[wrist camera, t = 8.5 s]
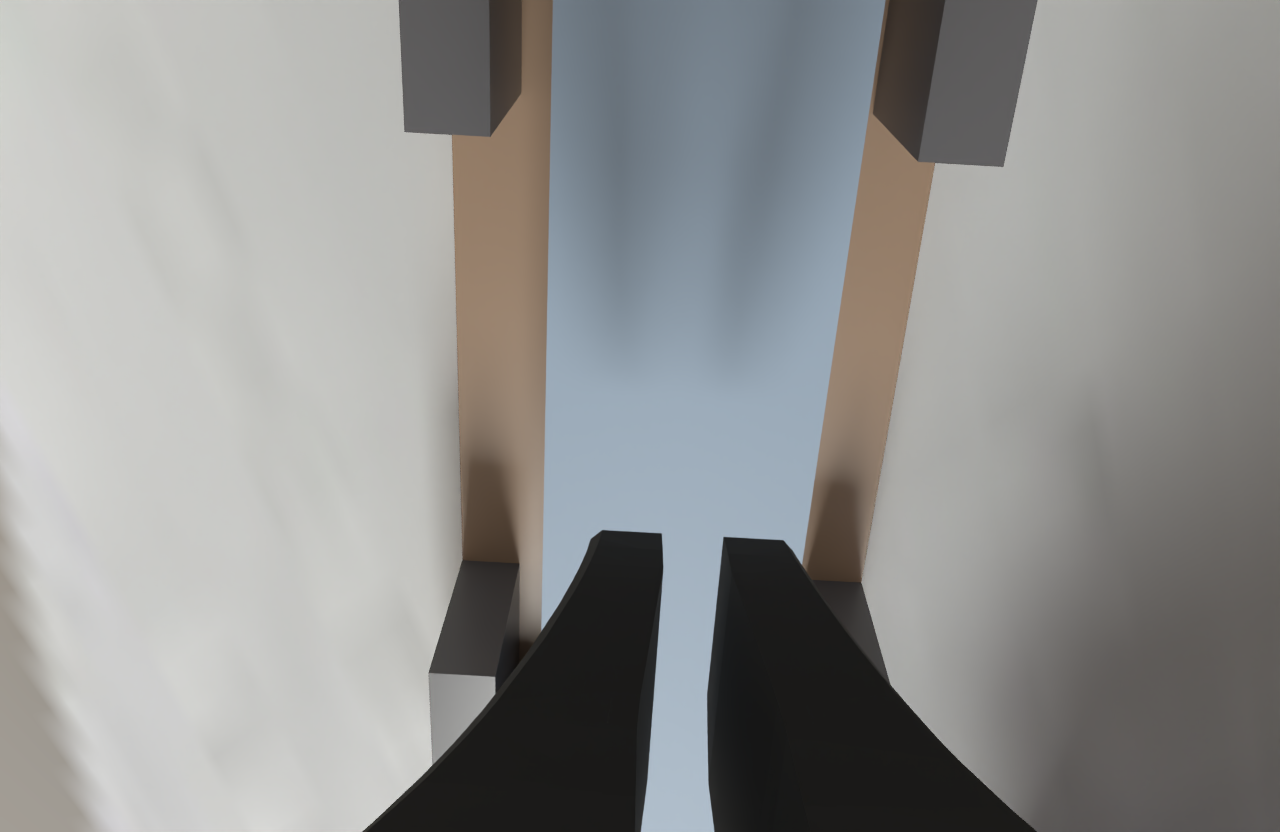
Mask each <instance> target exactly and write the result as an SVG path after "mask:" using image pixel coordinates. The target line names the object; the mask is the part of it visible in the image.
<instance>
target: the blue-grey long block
mask: <svg viewBox="0 0 1280 832" xmlns="http://www.w3.org/2000/svg"><path fill="white" fill-rule="evenodd" d="M885 1H886V0H553V22H552V77H551V131H550V186H549V240H548V295H547V349H546V404H545V458H544V513H543V567H542V622H541V631H542V630H543V628H544V626H545V625H546V623H547V622H548V620H549V619H550V617H551V616H552V614H553V613H554V611H555V610H556V608H557V607H558V605H559V603H560V602H561V600H562V598H563V596H564V595H565V593H566V591H567V589H568V588H569V586H570V584H571V582H572V581H573V579H574V577H575V575H576V573H577V571H578V569H579V567H580V565H581V563H582V561H583V558H584V556H585V554H586V551H587V549H588V546H589V542H590V539H591V538H592V537H594V536H595V535H596V534H598V533H599V532H600V531H602V530H612V531H630V532H648V533H662V545H663V581H662V595H661V608H660V621H659V634H658V647H657V661H656V674H655V687H654V700H653V713H652V727H651V740H650V753H649V766H648V780H647V788H646V796H645V803H644V811H643V819H642V827H641V832H714V824H713V817H712V809H711V801H710V793H709V785H708V735H707V690H708V680H709V671H710V661H711V651H712V642H713V632H714V623H715V613H716V603H717V594H718V584H719V575H720V565H721V555H722V546H723V537H737V538H754V539H772V540H784V541H785V542H786V544H787V545H788V546H789V547H790V548H791V549H792V550H793V552H794V553H795V555H796V557H797V558H798V560H799V561H800V563H801V564H802V562H803V555H804V548H805V541H806V534H807V528H808V521H809V514H810V507H811V501H812V494H813V487H814V480H815V474H816V467H817V460H818V453H819V447H820V440H821V433H822V426H823V420H824V413H825V406H826V399H827V393H828V386H829V379H830V372H831V366H832V359H833V352H834V345H835V339H836V332H837V325H838V318H839V312H840V305H841V298H842V291H843V285H844V278H845V271H846V264H847V258H848V251H849V244H850V237H851V231H852V224H853V217H854V210H855V204H856V197H857V190H858V183H859V176H860V170H861V163H862V156H863V149H864V143H865V136H866V129H867V122H868V116H869V109H870V102H871V95H872V89H873V82H874V75H875V68H876V62H877V55H878V48H879V41H880V35H881V28H882V21H883V14H884V8H885Z"/></svg>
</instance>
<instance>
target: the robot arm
mask: <svg viewBox="0 0 1280 832" xmlns="http://www.w3.org/2000/svg"><path fill="white" fill-rule="evenodd" d="M662 581H663V545H662V533H648V532H630V531H612V530H602V531H600V532H599V533H598V534H596V535H595V536H594V537H592V538H591V539H590V542H589V546H588V549H587V551H586V554H585V556H584V558H583V561H582V563H581V565H580V567H579V569H578V571H577V573H576V575H575V577H574V579H573V581H572V582H571V584H570V586H569V588H568V589H567V591H566V593H565V595H564V596H563V598H562V600H561V602H560V603H559V605H558V607H557V608H556V610H555V611H554V613H553V614H552V616H551V617H550V619H549V620H548V622H547V623H546V625H545V626H544V628H543V630H542V631H541V633H540V634H539V636H538V637H537V639H536V640H535V642H534V643H533V645H532V646H531V648H530V649H529V650H528V652H527V653H526V655H525V656H524V657H523V659H522V660H521V661H520V663H519V664H518V665H517V667H516V668H515V669H514V670H513V672H512V673H511V674H510V676H509V677H508V678H507V680H506V681H505V682H504V683H503V685H502V686H501V687H500V689H499V690H498V691H497V692H496V694H495V695H494V696H493V698H492V699H491V700H490V701H489V703H488V704H487V705H486V706H485V708H484V709H483V710H482V711H481V712H480V714H479V715H478V716H477V717H476V718H475V719H474V721H473V722H472V723H471V724H470V725H469V726H468V728H467V729H466V730H465V731H464V732H463V733H462V734H461V735H460V737H459V738H458V739H457V740H456V741H455V742H454V743H453V744H452V745H451V746H450V747H449V748H448V750H447V751H446V752H445V753H444V754H443V755H442V756H441V757H440V758H439V759H438V760H437V761H436V762H435V763H434V764H433V765H432V766H431V767H430V768H429V769H428V771H427V772H426V773H425V774H424V775H423V776H422V777H421V778H420V779H419V780H417V781H416V782H415V783H414V784H413V785H412V786H411V787H410V788H409V789H408V790H407V791H406V792H405V793H404V794H403V795H402V796H400V797H399V798H398V799H397V800H396V801H395V802H394V803H393V804H392V805H391V806H390V807H389V808H388V809H387V810H386V811H385V812H384V813H382V814H381V815H380V816H379V817H378V818H377V819H376V820H375V821H374V822H373V823H372V824H371V825H369V826H368V827H367V828H366V829H365V830H364V831H363V832H641V827H642V819H643V811H644V803H645V796H646V788H647V780H648V766H649V753H650V740H651V727H652V713H653V700H654V687H655V674H656V661H657V647H658V634H659V621H660V608H661V595H662ZM707 735H708V785H709V793H710V801H711V809H712V817H713V824H714V832H1037V831H1035V830H1034V829H1033V828H1032V827H1031V826H1030V825H1028V824H1027V823H1026V822H1025V821H1024V820H1023V819H1021V818H1020V817H1019V816H1018V815H1017V814H1016V813H1015V812H1013V811H1012V810H1011V809H1010V808H1009V807H1008V806H1007V805H1006V804H1005V803H1004V802H1003V801H1002V800H1000V799H999V798H998V797H997V796H996V795H995V794H994V793H993V792H992V791H991V790H990V789H989V788H988V787H987V786H986V785H984V784H983V783H982V782H981V781H980V780H979V779H978V778H977V777H976V776H975V775H974V774H973V773H972V772H971V771H970V770H968V769H967V768H966V767H965V766H964V765H963V764H962V763H961V762H960V761H959V760H958V759H957V758H956V757H955V756H954V755H953V754H952V753H951V752H950V751H949V750H948V749H947V748H946V747H945V746H944V745H943V744H942V742H941V741H940V740H939V739H938V738H937V737H936V736H935V735H934V734H933V733H932V732H931V731H930V729H929V728H928V727H927V726H926V725H925V724H924V723H923V722H922V721H921V719H920V718H919V717H918V716H917V715H916V714H915V713H914V712H913V710H912V709H911V708H910V707H909V706H908V705H907V704H906V703H905V701H904V700H903V699H902V698H901V697H900V696H899V694H898V693H897V692H896V691H895V690H894V688H893V687H892V686H891V685H890V684H889V682H888V681H887V680H886V679H885V678H884V676H883V675H882V674H881V673H880V671H879V670H878V669H877V667H876V666H875V665H874V664H873V662H872V661H871V660H870V659H869V657H868V656H867V655H866V654H865V652H864V651H863V650H862V648H861V647H860V646H859V645H858V643H857V642H856V641H855V640H854V638H853V637H852V636H851V634H850V633H849V632H848V630H847V629H846V628H845V626H844V625H843V624H842V622H841V621H840V619H839V618H838V617H837V615H836V614H835V612H834V611H833V610H832V608H831V607H830V605H829V604H828V603H827V601H826V600H825V598H824V597H823V596H822V594H821V593H820V591H819V590H818V588H817V587H816V585H815V584H814V582H813V581H812V579H811V578H810V576H809V575H808V573H807V572H806V570H805V569H804V567H803V566H802V564H801V563H800V561H799V560H798V558H797V557H796V555H795V553H794V552H793V550H792V549H791V548H790V547H789V546H788V545H787V544H786V542H785V541H784V540H772V539H754V538H737V537H723V546H722V555H721V565H720V575H719V584H718V594H717V603H716V613H715V623H714V632H713V642H712V651H711V661H710V671H709V680H708V690H707Z"/></svg>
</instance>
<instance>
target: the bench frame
mask: <svg viewBox="0 0 1280 832" xmlns="http://www.w3.org/2000/svg"><path fill="white" fill-rule="evenodd" d="M1036 5H1037V0H886V1H885V8H884V14H883V21H882V28H881V35H880V41H879V48H878V55H877V62H876V68H875V75H874V82H873V89H872V95H871V102H870V109H869V116H868V122H867V129H866V136H865V143H864V149H863V156H862V163H861V170H860V176H859V183H858V190H857V197H856V204H855V210H854V217H853V224H852V231H851V237H850V244H849V251H848V258H847V264H846V271H845V278H844V285H843V291H842V298H841V305H840V312H839V318H838V325H837V332H836V339H835V345H834V352H833V359H832V366H831V372H830V379H829V386H828V393H827V399H826V406H825V413H824V420H823V426H822V433H821V440H820V447H819V453H818V460H817V467H816V474H815V480H814V487H813V494H812V501H811V507H810V514H809V521H808V528H807V534H806V541H805V548H804V555H803V562H802V566H803V567H804V569H805V570H806V572H807V573H808V575H809V576H810V578H811V579H812V581H813V582H814V584H815V585H816V587H817V588H818V590H819V591H820V593H821V594H822V596H823V597H824V598H825V600H826V601H827V603H828V604H829V605H830V607H831V608H832V610H833V611H834V612H835V614H836V615H837V617H838V618H839V619H840V621H841V622H842V624H843V625H844V626H845V628H846V629H847V630H848V632H849V633H850V634H851V636H852V637H853V638H854V640H855V641H856V642H857V643H858V645H859V646H860V647H861V648H862V650H863V651H864V652H865V654H866V655H867V656H868V657H869V659H870V660H871V661H872V662H873V664H874V665H875V666H876V667H877V669H878V670H879V671H880V673H881V674H882V675H883V676H884V678H885V679H886V680H887V681H888V682H889V678H888V675H887V671H886V668H885V664H884V661H883V657H882V654H881V650H880V647H879V643H878V640H877V636H876V633H875V629H874V626H873V622H872V619H871V615H870V612H869V608H868V605H867V601H866V598H865V594H864V591H863V587H862V584H861V581H862V575H863V569H864V564H865V558H866V552H867V547H868V541H869V535H870V530H871V524H872V518H873V512H874V507H875V501H876V495H877V490H878V484H879V478H880V473H881V467H882V461H883V456H884V450H885V444H886V439H887V433H888V427H889V422H890V416H891V410H892V404H893V399H894V393H895V387H896V382H897V376H898V370H899V365H900V359H901V353H902V348H903V342H904V336H905V331H906V325H907V319H908V314H909V308H910V302H911V296H912V291H913V285H914V279H915V274H916V268H917V262H918V257H919V251H920V245H921V240H922V234H923V228H924V223H925V217H926V211H927V206H928V200H929V194H930V188H931V183H932V177H933V171H934V166H935V163H946V164H964V165H981V166H998V167H1003V166H1004V161H1005V156H1006V151H1007V146H1008V142H1009V137H1010V132H1011V127H1012V122H1013V117H1014V112H1015V107H1016V102H1017V98H1018V93H1019V88H1020V83H1021V78H1022V73H1023V68H1024V63H1025V59H1026V54H1027V49H1028V44H1029V39H1030V34H1031V29H1032V24H1033V19H1034V15H1035V10H1036ZM399 17H400V39H401V62H402V84H403V107H404V130H405V132H413V133H430V134H448V135H452V152H453V193H454V233H455V274H456V314H457V354H458V395H459V435H460V475H461V516H462V556H463V561H462V564H461V567H460V571H459V574H458V577H457V580H456V584H455V587H454V590H453V594H452V597H451V600H450V604H449V607H448V610H447V614H446V617H445V620H444V624H443V627H442V630H441V634H440V637H439V640H438V643H437V647H436V650H435V653H434V657H433V660H432V663H431V667H430V670H429V695H430V717H431V740H432V763H433V764H434V763H435V762H436V761H437V760H438V759H439V758H440V757H441V756H442V755H443V754H444V753H445V752H446V751H447V750H448V748H449V747H450V746H451V745H452V744H453V743H454V742H455V741H456V740H457V739H458V738H459V737H460V735H461V734H462V733H463V732H464V731H465V730H466V729H467V728H468V726H469V725H470V724H471V723H472V722H473V721H474V719H475V718H476V717H477V716H478V715H479V714H480V712H481V711H482V710H483V709H484V708H485V706H486V705H487V704H488V703H489V701H490V700H491V699H492V698H493V696H494V695H495V694H496V692H497V691H498V690H499V689H500V687H501V686H502V685H503V683H504V682H505V681H506V680H507V678H508V677H509V676H510V674H511V673H512V672H513V670H514V669H515V668H516V667H517V665H518V664H519V663H520V661H521V660H522V659H523V657H524V656H525V655H526V653H527V652H528V650H529V649H530V648H531V646H532V645H533V643H534V642H535V640H536V639H537V637H538V636H539V634H540V633H541V622H542V567H543V513H544V458H545V404H546V349H547V295H548V240H549V186H550V131H551V77H552V22H553V0H399ZM889 684H890V682H889Z"/></svg>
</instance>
